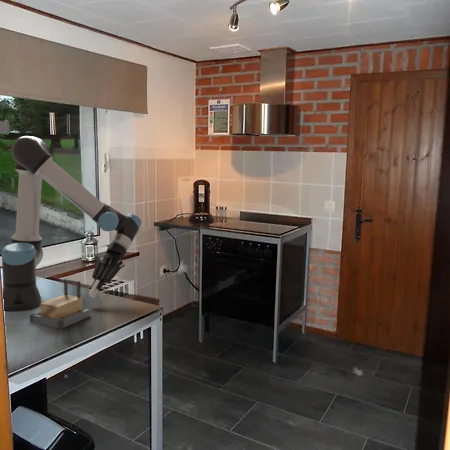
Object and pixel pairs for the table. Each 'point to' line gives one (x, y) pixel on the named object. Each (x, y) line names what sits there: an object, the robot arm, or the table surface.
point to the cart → (63, 303)
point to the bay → (56, 322)
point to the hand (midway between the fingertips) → (91, 295)
